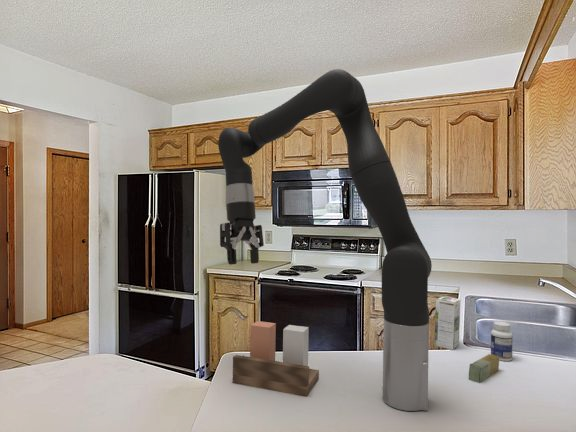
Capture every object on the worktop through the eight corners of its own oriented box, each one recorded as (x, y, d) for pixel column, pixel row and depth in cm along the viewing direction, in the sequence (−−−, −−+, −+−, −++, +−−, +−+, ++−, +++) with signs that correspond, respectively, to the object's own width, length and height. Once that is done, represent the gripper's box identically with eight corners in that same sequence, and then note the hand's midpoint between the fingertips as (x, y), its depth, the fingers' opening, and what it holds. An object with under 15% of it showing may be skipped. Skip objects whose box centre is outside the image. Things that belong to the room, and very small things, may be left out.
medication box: (479, 384, 92) (480, 367, 92) (467, 380, 94) (468, 363, 94) (499, 371, 100) (499, 356, 100) (488, 368, 102) (488, 353, 102)
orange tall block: (275, 363, 96) (275, 323, 96) (268, 369, 92) (269, 327, 92) (256, 360, 98) (257, 321, 98) (249, 366, 94) (250, 325, 94)
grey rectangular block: (307, 368, 93) (308, 327, 93) (302, 375, 90) (303, 331, 89) (288, 365, 95) (289, 324, 95) (282, 371, 91) (283, 329, 91)
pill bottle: (492, 353, 113) (492, 319, 113) (513, 357, 110) (514, 323, 110) (489, 358, 109) (489, 323, 109) (511, 363, 105) (511, 327, 105)
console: (318, 378, 93) (319, 353, 93) (306, 396, 84) (306, 368, 84) (251, 367, 100) (251, 343, 100) (232, 382, 90) (232, 356, 90)
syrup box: (440, 341, 123) (441, 295, 123) (459, 345, 119) (460, 298, 119) (433, 346, 118) (434, 298, 118) (454, 350, 115) (455, 301, 115)
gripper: (232, 197, 95) (235, 263, 93) (268, 202, 107) (272, 262, 105) (210, 202, 100) (213, 265, 98) (247, 207, 111) (251, 263, 109)
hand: (244, 263), depth 101 cm, fingers open, 8 cm apart
